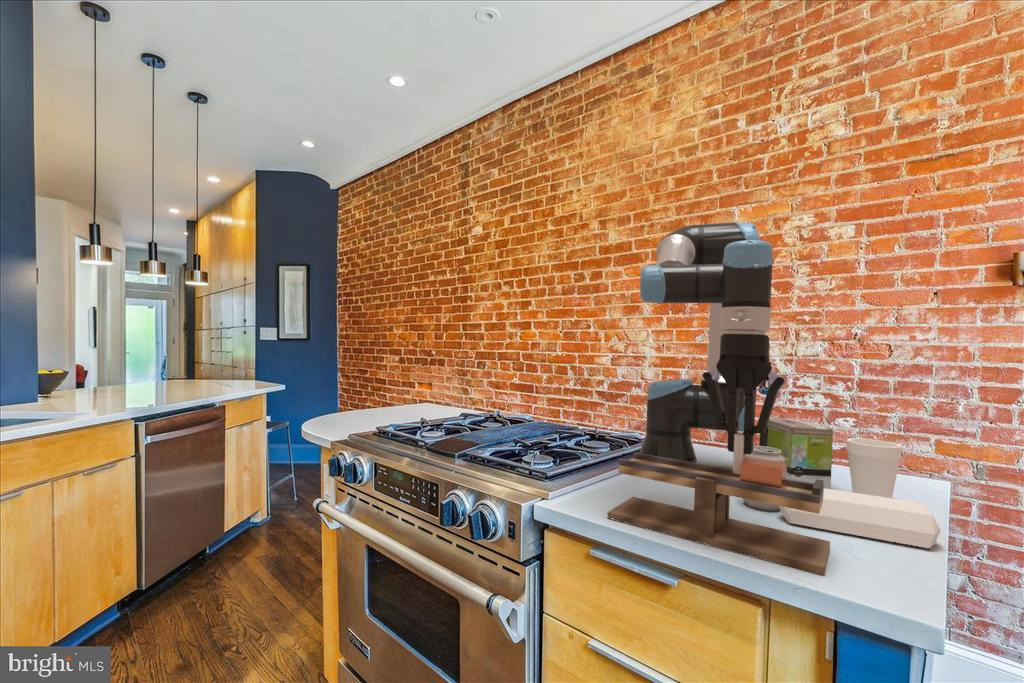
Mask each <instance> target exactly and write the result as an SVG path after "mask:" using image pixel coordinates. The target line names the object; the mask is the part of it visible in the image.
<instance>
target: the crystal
mask: <svg viewBox="0 0 1024 683" xmlns="http://www.w3.org/2000/svg"><path fill="white" fill-rule="evenodd" d="M779 508H780V509H779V511H780V512H781V515H782V516H783V517H784V518H785V520H786V522H787V523H788V524H791V525H798V526H801V527H807V528H809V527H810V528H814V529H820V530H824V531H825V530H826V531H831V532H836V533H841V534H847V535H852V536H857V537H858V536H859V537H861V538H862V537H863V538H867V539H868V538H869V539H874V540H880V541H886V542H890V543H895V542H896V543H897V544H901V545H906V544H907V546H911V545H912V546H913V547H917V546H918V548H922V547H923V549H928V548H929V550H931V549H932V548H933V547H934V546H935V545H936V543H937V541H938V538H939V536H940V533H941V528H940V526H939V524H938V523H937V521H936V519H935V517H934V515H933V514H932V512H931V511H930V510H929V508H928V507H927V505H926V504H925V503H924V502H919V501H913V500H905V499H899V498H893V497H892V498H886V497H880V496H873V495H866V494H859V493H853V491H852V492H851V491H845V490H839V489H826V488H824V492H823V503H822V506H821V509H820V512H819V514H817V513H812V512H807V511H802V510H797V509H793V508H788V507H783V506H779ZM933 545H934V546H933ZM932 546H933V547H932ZM931 547H932V548H931ZM930 548H931V549H930Z"/></svg>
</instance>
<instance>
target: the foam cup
mask: <svg viewBox="0 0 1024 683" xmlns="http://www.w3.org/2000/svg"><path fill="white" fill-rule="evenodd" d="M902 449H903V446H902V445H901V444H898V443H896V442H892V441H891V442H890V441H886V440H881V439H880V440H879V439H874V438H873V439H870V438H861V437H860V438H859V437H858V438H856V437H855V438H848V439H846V451H847V457H848V465H849V474H850V481H851V488H852V489H851V490H852V492H853V493H859V494H866V495H873V496H880V497H886V498H893V495H894V491H895V486H896V481H897V476H898V475H897V474H898V469H899V466H900V465H899V464H900V461H901V458H902V451H903V450H902Z"/></svg>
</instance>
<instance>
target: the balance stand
mask: <svg viewBox="0 0 1024 683" xmlns="http://www.w3.org/2000/svg"><path fill="white" fill-rule="evenodd" d="M712 466H716V467H722V468H728V469H732V468H731V467H727V466H722V465H717V464H713V465H712ZM693 497H694V501H693V502H694V504H693V509H690V508H689V509H688V508H684V507H681V506H677V505H671V504H667V503H663V502H658V501H655V500H649V499H646V498H645V499H644V498H640V497H637V496H631V497H630V498H628V499H627V500H625V501H624V502H622V503H620V504H619V505H617V506H615V507H614V508H612V509H611V510H609V511H608V512H607V518H608V517H609V518H613V519H615V520H618V521H617V522H619V521H622V522H627V523H630V524H633V525H632V526H634V525H637V526H640V527H639V528H641V527H644V528H643V529H645V528H648V529H647V530H649V529H652V530H651V531H653V530H656V531H659V532H658V533H660V532H665V533H668V534H671V535H670V536H672V535H675V536H679V537H682V538H681V539H683V538H686V539H685V540H687V539H690V540H694V541H698V542H701V543H700V544H702V543H705V544H704V545H706V544H709V545H712V546H711V547H713V546H716V547H715V548H717V547H720V548H719V549H721V548H723V549H722V550H724V549H726V551H728V550H730V551H729V552H732V551H734V552H733V553H736V552H738V553H737V554H740V553H742V554H741V555H743V554H746V555H745V556H747V555H751V556H754V557H753V558H755V557H758V558H757V559H759V558H762V559H766V560H769V561H768V562H770V561H772V562H771V563H774V562H775V564H777V563H779V564H778V565H781V564H782V565H781V566H784V567H785V566H786V567H789V568H793V569H796V570H801V571H804V572H808V573H812V574H816V575H819V576H823V577H824V576H825V575H826V570H827V564H828V559H829V555H830V550H831V541H830V540H826V539H821V538H817V537H812V536H807V535H803V534H798V533H795V532H791V531H786V530H782V529H777V528H773V527H769V526H764V525H759V524H756V523H752V522H745V521H742V520H737V519H733V518H730V501H731V500H730V499H731V498H730V497H731V496H729V495H724V494H719V493H716V480H712V479H707V478H702V477H696V478H695V488H694V496H693ZM615 520H614V521H615ZM622 522H621V523H622ZM630 524H629V525H630ZM637 526H636V527H637ZM656 531H655V532H656ZM668 534H667V535H668ZM675 536H674V537H675ZM679 537H678V538H679ZM690 540H689V541H690ZM694 541H693V542H694ZM698 542H697V543H698ZM709 545H708V546H709ZM751 556H750V557H751ZM762 559H761V560H762ZM766 560H765V561H766Z"/></svg>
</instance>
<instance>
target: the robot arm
mask: <svg viewBox="0 0 1024 683" xmlns="http://www.w3.org/2000/svg"><path fill="white" fill-rule="evenodd" d="M758 230H759V229H758V228H757V226H756V225H755V224H754V223H751V222H737V221H735V222H722V223H721V222H719V223H707V224H704V223H703V224H691V225H687V226H683V227H680V228H677V229H676V230H675V229H674V230H673V231H671V232H669V233H667V234H666V235H665V236H664V237H662V239H660V241H659V242H658V245H657V246H656V249H655V250H656V251H655V258H656V264H653V265H645V266H643V267H642V269H641V270H640V282H639V294H640V299H641V301H642V302H643V303H646V304H650V303H652V304H657V305H661V304H709V320H708V321H709V322H708V323H709V324H708V325H709V326H708V351H707V358H708V359H707V371H704V372H703V374H702V377H701V380H700V384H694V382H693V380H692V379H690V378H682V379H681V378H677V379H676V378H675V379H664V380H655V381H652V382H650V383H649V384H648V387H647V395H646V396H647V397H646V398H645V399H646V402H647V403H646V422H645V423H646V426H645V430H646V432H645V437H644V439H643V441H642V444H641V448H640V450H639V452H638V453H641V454H647V455H653V456H659V457H664V458H670V459H676V460H682V461H687V462H693V463H698V460H697V455H696V451H695V449H694V445H693V441H692V439H691V438H692V435H691V434H692V430H691V429H699V430H700V429H701V430H713V431H722V432H724V431H725V432H726V433H727V451H728V452H730V453H733V462H732V463H733V464H732V469H733V473H737V474H740V473H741V461H743V460H744V459H745V458H746V454H749V455H750V454H751V453H752V452H753V446H754V438H755V437H754V436H755V435H756V434H760V433H762V432H764V431H765V430H766V428H767V425H768V422H769V419H770V418H771V416H772V412H773V409H774V406H775V403H776V401H777V400H776V399H777V397H778V394H779V391H780V389H781V388H782V387H783V386H784V385H785V384H786V383H787V378H786V377H785V376H781V375H780V374H778V373H777V372H774V371H773V367H772V365H771V362H770V337H769V335H767V333H769V332H770V331H771V316H772V315H771V313H772V312H771V309H772V308H771V304H772V302H771V300H772V297H771V296H772V284H773V283H772V282H773V281H772V279H773V266H774V265H773V264H774V263H775V261H774V258H773V257H774V256H773V245H772V244H771V243H770V242H768V241H766V240H761V239H760V234H759V231H758ZM767 377H768V380H767V383H768V385H769V387H768V389H767V392H766V395H765V399H764V401H763V404H762V408H761V411H760V415H759V417H758V420H757V423H755V422H756V420H755V419H756V401H757V399H756V397H757V391H758V389H757V388H758V387H759V386H760V385H761V384H763V382H764V381H765V380H766V379H767Z"/></svg>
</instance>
